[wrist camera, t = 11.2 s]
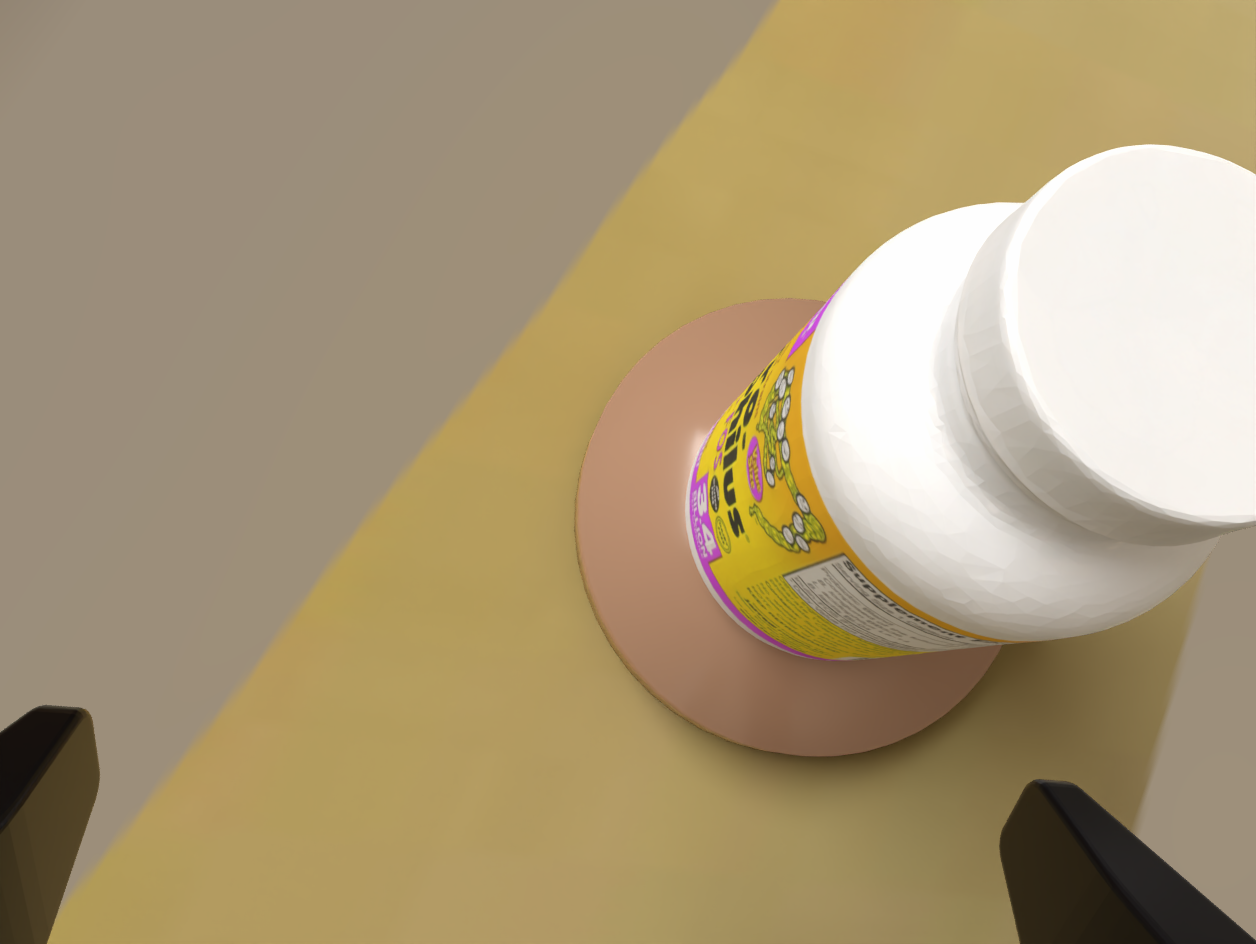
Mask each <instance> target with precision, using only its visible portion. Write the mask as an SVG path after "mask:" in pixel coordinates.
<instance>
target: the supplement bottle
mask: <svg viewBox="0 0 1256 944" xmlns="http://www.w3.org/2000/svg"><path fill="white" fill-rule="evenodd" d="M685 514H686V528H687V534H688V539H689V544H690V548H691V552H692V555H693V558H694V561H695V563H696V566H697V569H698V571H699V573H700V575H701V577H702V579H703V581H704V583H705V584H706V586H707V588H708V590H709V591H710V593H711V594H712V596H713V597H714V598H715V600H716V601H717V602H718V604H719V605H720V606H721V607H722V609H723V610H724V611H725V612H726V613H727V614H728V615H729V616H730V617H731V618H732V619H733V620H734V621H735V622H736V623H737V624H738V625H739V626H741V627H742V628H743V629H744V630H746V631H747V632H748V633H750V634H751V635H753V636H754V637H756V638H757V639H759V640H761V641H762V642H764V643H766V644H768V645H771V646H773V647H775V648H777V649H779V650H782V651H785V652H787V653H790V654H793V655H796V656H800V657H805V658H809V659H816V660H826V661H853V660H865V659H875V658H884V657H892V656H902V655H911V654H922V653H929V652H937V651H946V650H955V649H965V648H975V647H985V646H993V645H1003V644H1014V643H1026V642H1036V641H1047V640H1055V639H1062V638H1069V637H1076V636H1082V635H1088V634H1092V633H1095V632H1099V631H1103V630H1106V629H1109V628H1112V627H1114V626H1117V625H1120V624H1122V623H1125V622H1128V621H1130V620H1132V619H1134V618H1136V617H1137V616H1139V615H1141V614H1143V613H1145V612H1147V611H1149V610H1151V609H1152V608H1154V607H1155V606H1157V605H1158V604H1160V603H1161V602H1162V601H1164V600H1165V599H1167V598H1168V597H1170V596H1171V595H1172V594H1173V593H1174V592H1176V591H1177V590H1178V589H1179V588H1180V587H1181V586H1182V585H1183V584H1185V583H1186V582H1187V581H1188V580H1189V579H1190V578H1191V577H1192V576H1193V575H1194V574H1195V572H1196V571H1197V570H1198V569H1199V568H1200V566H1201V565H1202V564H1203V563H1204V561H1205V560H1206V559H1207V557H1208V556H1209V555H1210V553H1211V552H1212V550H1213V549H1214V547H1215V546H1216V545H1217V543H1218V541H1219V539H1220V537H1221V535H1224V534H1227V533H1230V532H1233V531H1237V530H1241V529H1245V528H1250V527H1253V526H1256V174H1254V173H1252V172H1250V171H1248V170H1246V169H1244V168H1242V167H1240V166H1238V165H1236V164H1234V163H1232V162H1230V161H1228V160H1225V159H1222V158H1219V157H1217V156H1214V155H1211V154H1207V153H1203V152H1199V151H1195V150H1191V149H1186V148H1181V147H1175V146H1168V145H1137V146H1128V147H1121V148H1116V149H1112V150H1109V151H1106V152H1103V153H1100V154H1097V155H1094V156H1092V157H1089V158H1087V159H1085V160H1082V161H1080V162H1078V163H1076V164H1074V165H1073V166H1071V167H1069V168H1067V169H1066V170H1064V171H1063V172H1062V173H1060V174H1059V175H1058V176H1056V177H1055V178H1053V179H1052V180H1051V181H1049V182H1048V183H1047V184H1046V185H1045V186H1044V187H1042V188H1041V189H1040V190H1039V191H1038V192H1037V193H1036V194H1034V195H1033V196H1032V197H1031V198H1030V199H1029V200H1028V201H1026V202H1025V203H990V204H978V205H973V206H968V207H963V208H959V209H956V210H952V211H949V212H946V213H942V214H939V215H936V216H933V217H930V218H928V219H926V220H924V221H921V222H919V223H917V224H915V225H913V226H911V227H910V228H908V229H906V230H904V231H902V232H901V233H899V234H898V235H896V236H895V237H893V238H892V239H890V240H889V241H887V242H886V243H885V244H883V245H882V246H881V247H879V248H878V249H877V250H876V251H875V252H874V253H873V254H871V255H870V256H869V257H868V258H867V259H866V260H865V261H864V262H863V263H862V264H861V265H860V266H859V267H858V268H857V269H856V270H855V271H854V272H853V273H852V274H851V275H850V277H849V278H848V279H847V280H846V281H845V282H844V283H843V284H842V285H841V287H840V288H839V289H838V290H837V291H836V292H835V293H834V294H833V296H832V297H831V298H830V299H829V300H828V301H827V302H826V303H825V305H824V306H823V307H822V308H821V309H820V310H819V311H818V312H817V313H816V314H815V315H814V316H813V317H812V318H811V319H810V320H809V321H808V322H807V324H806V325H805V326H804V327H803V328H802V329H801V330H800V331H799V332H798V333H797V334H796V335H795V336H794V337H793V338H792V340H791V341H790V342H789V343H788V344H787V345H786V346H785V347H784V348H783V349H782V350H781V351H780V352H779V353H778V355H777V356H776V357H775V358H774V359H773V360H772V361H771V362H770V363H769V365H768V366H767V367H766V368H765V369H764V370H763V371H762V372H761V373H760V374H759V375H758V376H757V377H756V378H755V379H754V381H753V382H752V383H751V384H750V385H749V386H748V387H747V388H746V389H745V390H744V392H743V393H742V394H741V395H740V396H739V397H738V398H737V399H736V400H735V401H734V402H733V403H732V404H731V405H730V407H729V408H728V409H727V410H726V411H725V412H724V414H723V415H722V416H721V417H720V419H719V420H718V421H717V422H716V423H715V425H714V426H713V427H712V428H711V430H710V431H709V433H708V434H707V436H706V438H705V439H704V441H703V442H702V444H701V446H700V448H699V450H698V453H697V455H696V457H695V460H694V463H693V466H692V469H691V472H690V476H689V480H688V486H687V493H686V504H685Z"/></svg>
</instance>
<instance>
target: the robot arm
mask: <svg viewBox="0 0 1256 944" xmlns="http://www.w3.org/2000/svg"><path fill="white" fill-rule="evenodd" d="M99 770H100V769H99V762H98V756H97V748H96V742H95V734H94V727H93V721H92V717H91V715H90V713H89V712H88V711H87V710H86V709H83V708H79V707H65V706H52V705H43V706H38V707H36V708H34V709H32V710H30V711H29V712H27V713H26V714H24V715H23V716H22V717H20V718H19V719H18V720H16V721H15V722H13V723H12V724H11V725H9V726H8V727H7V728H5V729H4V730H3V731H1V732H0V944H47V942H48V939H49V936H50V933H51V930H52V927H53V924H54V921H55V918H56V915H57V912H58V909H59V906H60V903H61V900H62V898H63V895H64V892H65V889H66V886H67V883H68V880H69V876H70V874H71V871H72V868H73V865H74V862H75V859H76V856H77V853H78V850H79V847H80V844H81V841H82V838H83V835H84V832H85V829H86V826H87V823H88V820H89V817H90V815H91V812H92V808H93V806H94V803H95V800H96V796H97V792H98V787H99V780H100V771H99ZM999 847H1000V857H1001V862H1002V866H1003V870H1004V875H1005V879H1006V884H1007V888H1008V892H1009V897H1010V901H1011V906H1012V910H1013V914H1014V919H1015V923H1016V928H1017V932H1018V936H1019V941H1020V944H1256V940H1255V939H1253V938H1252V937H1251V936H1250V935H1249V934H1248V933H1247V932H1245V931H1244V930H1243V929H1242V928H1241V927H1240V926H1239V925H1237V924H1236V923H1235V922H1234V921H1233V920H1231V919H1230V918H1229V917H1228V916H1227V915H1226V914H1225V913H1224V912H1222V911H1221V910H1220V909H1219V908H1218V907H1216V905H1214V904H1213V903H1212V902H1211V901H1210V900H1209V899H1207V898H1206V897H1205V896H1204V895H1203V894H1202V893H1200V892H1199V891H1198V890H1197V889H1196V888H1195V887H1194V886H1192V885H1191V884H1190V883H1189V882H1188V881H1187V880H1186V879H1184V878H1183V877H1182V876H1181V875H1180V874H1179V873H1178V872H1176V871H1175V870H1174V869H1173V868H1172V867H1171V866H1169V865H1168V864H1167V863H1166V862H1164V860H1163V859H1161V858H1160V857H1159V856H1158V855H1157V854H1156V853H1154V852H1153V851H1152V850H1151V849H1150V848H1149V847H1147V846H1146V845H1145V844H1144V843H1143V842H1142V841H1141V840H1139V839H1138V838H1137V837H1136V836H1135V835H1134V834H1133V833H1131V832H1130V831H1129V830H1128V829H1127V828H1126V827H1124V826H1123V825H1122V824H1121V823H1120V822H1119V821H1118V820H1116V819H1115V818H1114V817H1113V816H1112V815H1111V814H1109V813H1108V812H1107V811H1106V810H1105V809H1104V808H1103V807H1101V806H1100V805H1099V804H1098V803H1097V802H1096V801H1095V800H1093V799H1092V798H1091V797H1090V796H1089V795H1088V794H1086V793H1085V792H1084V791H1083V790H1082V789H1081V788H1079V787H1078V786H1077V785H1075V784H1073V783H1070V782H1067V781H1055V780H1042V779H1037V780H1033V781H1032V782H1030V783H1029V784H1027V786H1026V787H1025V789H1024V790H1023V792H1022V794H1021V796H1020V798H1019V800H1018V801H1017V803H1016V805H1015V807H1014V809H1013V811H1012V813H1011V814H1010V816H1009V818H1008V820H1007V822H1006V824H1005V825H1004V827H1003V830H1002V832H1001V836H1000V845H999Z"/></svg>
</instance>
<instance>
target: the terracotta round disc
mask: <svg viewBox="0 0 1256 944" xmlns="http://www.w3.org/2000/svg"><path fill="white" fill-rule="evenodd" d="M825 303H826V302H823V301H818V300H806V299H792V298H786V299H767V300H758V301H753V302H747V303H742V304H736V305H733V306H730V307H727V308H724V309H721V310H718V311H714V312H711V313H709V314H706V315H704V316H702V317H700V318H698V319H696V320H694V321H692V322H690V323H688V324H686V325H684V326H682V327H681V328H679V329H678V330H676V331H675V332H673V333H672V334H670V335H669V336H667V337H666V338H664V339H663V340H661V341H660V342H659V343H658V344H657V345H656V346H655V347H653V348H652V349H651V350H650V351H649V352H648V353H647V354H646V355H644V356H643V357H642V358H641V359H640V360H639V361H638V362H637V364H636V365H635V366H634V367H633V368H632V369H631V371H630V372H629V373H628V374H627V375H626V377H625V378H624V379H623V380H622V381H621V383H620V384H619V386H618V388H617V389H616V391H615V392H614V394H613V396H612V397H611V399H610V400H609V402H608V403H607V405H606V407H605V409H604V411H603V413H602V415H601V417H600V419H599V421H598V424H597V426H596V428H595V430H594V432H593V435H592V437H591V439H590V441H589V443H588V446H587V449H586V452H585V456H584V459H583V463H582V466H581V469H580V473H579V479H578V485H577V492H576V498H575V526H574V532H575V541H576V550H577V559H578V564H579V568H580V572H581V576H582V580H583V584H584V588H585V591H586V594H587V597H588V599H589V602H590V604H591V607H592V609H593V612H594V615H595V617H596V619H597V621H598V623H599V625H600V627H601V629H602V630H603V632H604V634H605V636H606V638H607V640H608V641H609V643H610V645H611V647H612V648H613V649H614V651H615V652H616V654H617V655H618V656H619V658H620V659H621V660H622V662H623V663H624V665H625V666H626V667H627V669H628V670H629V671H630V672H631V673H632V674H633V675H634V677H635V678H636V679H637V680H638V681H639V682H640V683H641V684H642V685H643V686H644V687H645V688H646V689H647V690H648V691H649V692H650V693H651V694H652V695H653V696H654V697H656V698H657V699H658V700H659V701H660V702H662V703H663V704H664V705H665V706H667V707H668V708H669V709H670V710H671V711H673V712H674V713H675V714H677V715H679V716H680V717H682V718H684V719H685V720H687V721H688V722H690V723H692V724H693V725H695V726H697V727H698V728H700V729H702V730H704V731H706V732H709V733H711V734H713V735H715V736H718V737H720V738H722V739H724V740H727V741H729V742H733V743H736V744H740V745H743V746H747V747H750V748H753V749H757V750H763V751H770V752H777V753H784V754H791V755H798V756H840V755H847V754H854V753H861V752H866V751H869V750H873V749H876V748H880V747H883V746H886V745H890V744H893V743H895V742H897V741H900V740H902V739H904V738H906V737H908V736H911V735H913V734H915V733H917V732H919V731H921V730H922V729H924V728H926V727H927V726H929V725H930V724H932V723H933V722H935V721H936V720H938V719H939V718H941V717H942V716H944V715H945V714H946V713H947V712H949V711H950V710H951V709H952V708H953V707H954V706H955V705H957V704H958V703H959V702H960V701H961V700H962V699H963V698H964V697H966V696H967V694H968V693H969V692H970V691H971V690H972V689H973V687H974V686H975V685H976V684H977V683H978V682H979V680H980V679H981V678H982V677H983V676H984V675H985V673H986V671H987V670H988V668H989V667H990V665H991V664H992V662H993V660H994V659H995V657H996V656H997V654H998V653H999V651H1000V649H1001V647H1002V645H993V646H985V647H975V648H965V649H955V650H946V651H937V652H929V653H922V654H911V655H902V656H892V657H884V658H875V659H865V660H853V661H826V660H816V659H809V658H805V657H800V656H796V655H793V654H790V653H787V652H785V651H782V650H779V649H777V648H775V647H773V646H771V645H768V644H766V643H764V642H762V641H761V640H759V639H757V638H756V637H754V636H753V635H751V634H750V633H748V632H747V631H746V630H744V629H743V628H742V627H741V626H739V625H738V624H737V623H736V622H735V621H734V620H733V619H732V618H731V617H730V616H729V615H728V614H727V613H726V612H725V611H724V610H723V609H722V607H721V606H720V605H719V604H718V602H717V601H716V600H715V598H714V597H713V596H712V594H711V593H710V591H709V590H708V588H707V586H706V584H705V583H704V581H703V579H702V577H701V575H700V573H699V571H698V569H697V566H696V563H695V561H694V558H693V555H692V552H691V548H690V544H689V539H688V534H687V528H686V514H685V504H686V493H687V486H688V480H689V476H690V472H691V469H692V466H693V463H694V460H695V457H696V455H697V453H698V450H699V448H700V446H701V444H702V442H703V441H704V439H705V438H706V436H707V434H708V433H709V431H710V430H711V428H712V427H713V426H714V425H715V423H716V422H717V421H718V420H719V419H720V417H721V416H722V415H723V414H724V412H725V411H726V410H727V409H728V408H729V407H730V405H731V404H732V403H733V402H734V401H735V400H736V399H737V398H738V397H739V396H740V395H741V394H742V393H743V392H744V390H745V389H746V388H747V387H748V386H749V385H750V384H751V383H752V382H753V381H754V379H755V378H756V377H757V376H758V375H759V374H760V373H761V372H762V371H763V370H764V369H765V368H766V367H767V366H768V365H769V363H770V362H771V361H772V360H773V359H774V358H775V357H776V356H777V355H778V353H779V352H780V351H781V350H782V349H783V348H784V347H785V346H786V345H787V344H788V343H789V342H790V341H791V340H792V338H793V337H794V336H795V335H796V334H797V333H798V332H799V331H800V330H801V329H802V328H803V327H804V326H805V325H806V324H807V322H808V321H809V320H810V319H811V318H812V317H813V316H814V315H815V314H816V313H817V312H818V311H819V310H820V309H821V308H822V307H823V306H824V305H825Z"/></svg>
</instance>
